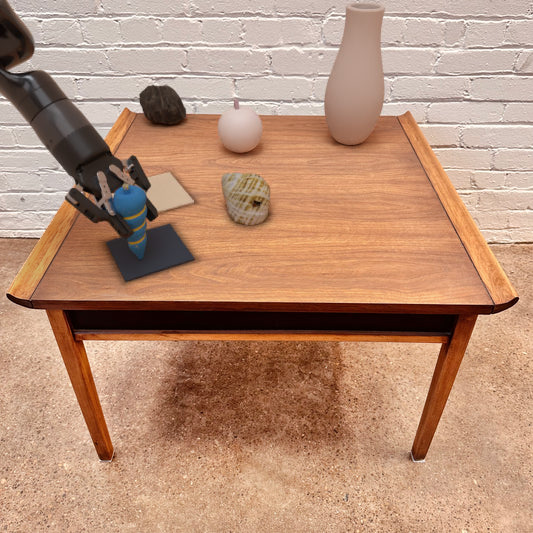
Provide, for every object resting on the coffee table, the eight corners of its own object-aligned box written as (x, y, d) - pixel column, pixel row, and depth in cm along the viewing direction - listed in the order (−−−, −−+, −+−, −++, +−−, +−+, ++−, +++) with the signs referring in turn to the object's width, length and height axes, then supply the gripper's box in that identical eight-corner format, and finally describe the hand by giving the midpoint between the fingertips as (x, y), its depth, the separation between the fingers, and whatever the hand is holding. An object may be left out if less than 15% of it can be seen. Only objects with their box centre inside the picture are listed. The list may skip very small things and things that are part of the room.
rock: (189, 124, 124) (179, 84, 118) (146, 133, 123) (134, 94, 117) (187, 113, 132) (177, 75, 126) (146, 122, 131) (135, 84, 126)
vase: (374, 130, 124) (395, 0, 105) (378, 154, 113) (402, 14, 94) (321, 127, 125) (332, -2, 106) (320, 151, 114) (332, 11, 95)
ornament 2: (211, 147, 115) (207, 98, 108) (246, 137, 120) (245, 89, 112) (234, 164, 109) (233, 112, 101) (270, 152, 114) (271, 102, 106)
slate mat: (125, 282, 77) (125, 280, 77) (106, 243, 85) (105, 241, 85) (194, 260, 82) (194, 258, 81) (170, 225, 90) (169, 223, 90)
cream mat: (125, 221, 90) (125, 220, 90) (106, 188, 100) (105, 187, 100) (194, 203, 96) (194, 201, 96) (169, 173, 105) (169, 171, 105)
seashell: (265, 227, 88) (240, 180, 84) (226, 235, 94) (201, 191, 89) (287, 199, 95) (265, 154, 90) (249, 207, 101) (227, 165, 96)
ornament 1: (159, 251, 83) (147, 173, 73) (151, 270, 79) (137, 190, 69) (130, 249, 83) (114, 171, 74) (120, 267, 79) (102, 187, 70)
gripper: (38, 143, 65) (120, 242, 68) (114, 109, 75) (183, 197, 78) (25, 168, 71) (100, 259, 74) (97, 134, 80) (161, 215, 83)
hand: (142, 226), depth 76 cm, fingers closed on ornament 1, 5 cm apart
